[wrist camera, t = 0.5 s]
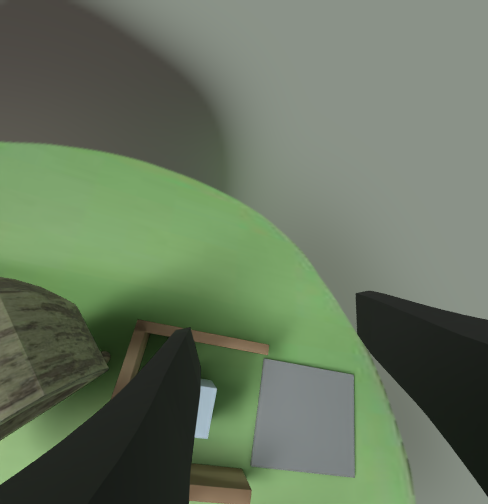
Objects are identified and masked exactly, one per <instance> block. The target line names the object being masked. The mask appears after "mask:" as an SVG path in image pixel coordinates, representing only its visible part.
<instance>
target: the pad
mask: <svg viewBox="0 0 488 504" xmlns="http://www.w3.org/2000/svg"><path fill="white" fill-rule="evenodd" d="M250 465H251V466H252V467H261V468H270V469H280V470H289V471H298V472H307V473H316V474H325V475H334V476H344V477H353V478H355V460H354V375H352V374H346V373H341V372H335V371H330V370H325V369H319V368H314V367H308V366H303V365H297V364H292V363H287V362H281V361H276V360H270V359H265V358H264V361H263V369H262V377H261V385H260V393H259V401H258V409H257V417H256V424H255V432H254V440H253V448H252V456H251V464H250Z"/></svg>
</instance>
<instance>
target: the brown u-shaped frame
mask: <svg viewBox="0 0 488 504" xmlns="http://www.w3.org/2000/svg"><path fill="white" fill-rule="evenodd" d="M179 329H183V328H180V327H175V326H169V325H164V324H159V323H154V322H149V321H144V320H139V319H138V320H137V323H136V326H135V329H134V332H133V335H132V338H131V341H130V344H129V347H128V350H127V353H126V356H125V359H124V362H123V365H122V368H121V371H120V374H119V377H118V380H117V383H116V386H115V389H114V392H113V394H112V397H111V399H112V398H113V397H114V396H116V395H117V394H118V393H119V392H120V391H121V390H122V389H123V388H124V387H125V386H126V385H127V384H128V383H129V382H130V381H131V380H132V379H133V378H134V377H135V375H136V374H137V373H138V371H139V367H140V364H141V361H142V358H143V354H144V351H145V348H146V345H147V342H148V338H149V335H150V333H152V334H157V335H162V336H168V337H170V336H171V335H172V334H173V333H174V331H175V330H179ZM191 331H192V335H193V339H194V341H195V342H200V343H205V344H211V345H216V346H221V347H227V348H232V349H237V350H243V351H248V352H253V353H259V354H265V355H268V350H269V345H267V344H262V343H257V342H252V341H247V340H242V339H236V338H231V337H226V336H221V335H216V334H211V333H206V332H200V331H195V330H191ZM251 491H252V490H251V488H250V486H249V483H248V481H247V479H246V477H245V475H244V472H243V470H242V469H239V468H230V467H221V466H211V465H202V464H193V463H191V472H190V491H189V501H199V502H211V503H224V504H250V500H251Z"/></svg>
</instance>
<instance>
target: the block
mask: <svg viewBox="0 0 488 504" xmlns="http://www.w3.org/2000/svg"><path fill="white" fill-rule="evenodd" d="M216 392H217V388H216V386H215V385H214V383H213V382H212V380H207V379H201V392H200V400H199V408H198V416H197V423H196V430H195V438H203V439H208V434H209V429H210V423H211V418H212V413H213V407H214V402H215V397H216Z"/></svg>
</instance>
